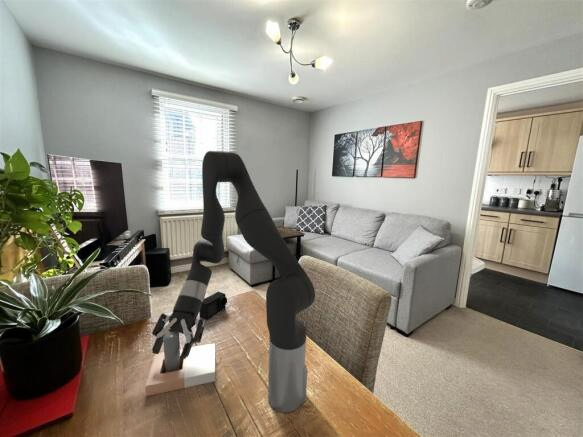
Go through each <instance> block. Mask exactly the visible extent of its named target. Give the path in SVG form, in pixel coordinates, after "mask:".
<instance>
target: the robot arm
mask: <svg viewBox="0 0 583 437" xmlns="http://www.w3.org/2000/svg"><path fill="white" fill-rule="evenodd" d="M201 166H202V168H201V172H202V173H201V175H202V176H201V177H202V182H201V183H202V200H203V201H202V202H203V207H202V208H203V214H202V222H201V229H200V236H201V238H203V239H201V240H198V241H197V242H196V243H195V244H194V246H193V249H192V250H193V251H192V260H191V266H190V269H189V272H188V274H187V277H186V278H185V279H186V280H185V282H184V284H182V287H181V290H180V292H179V294H178V297H177V299H176V301H175V304H174V306H173V309H172V313H171V314H170V315H167V314H165V313H161V314H160V316H159V318H158V320H157V322H156V324H155V325H154V327H153V330H152V331H151V334H152V335H153V336H154V337H156V338H155V341H154V343H153V346H152V348H151V351H152V354H154V355H155V354H159V353H161V349H162V346H163V345H164V342H163V337H164V335H165V334H167V333H169V332H172V331H176V332H178V333H179V334H181V335H184V337H185V340H186V342H184V345H183V348H182V349H183V351H182V353H181V356H180V358H181V359H186V357H188V356H189V353H190V350H191V348H192V347H193V345H195V344H200V343H201V341H202V337H203V334H204V330H205V326H206V320H205V319H203V318H200V319H197V317H198V316H199V311H200V308H201V305H202V303H203V300H204V299H205V298H206V297H205V296H206V293H207V290H208V289H207V288H208V286H209V283H210V281H211V277H212V273H213V272H212V269H210V267H208V266H206V265H204V264H202V263H201V261H202V262H207V263H210V264H216V265H217V264H220V263H221V262H222V261H223V259H224V258H225V245H224V238H223V236H224V235H223V233H224V229H225V223H226V222H225V221H226V220H225V219H226V217H225V216H226V215H225V212H224V209H223V207H222V204H221V203H220V201H219V198H218V196H217V186H218V183H231V184H232V185H233V187H234V189H235V191H236V194H237V202H236V206H235V214H234V219H235V224H236V226H237V227H238V229H239V231H240V234H241V235H242V238H243V239H244V241H245V242H246V244H248V245H249V246H250V247H251V248H252V249H253V250H254V251H256V252H258V253H259V254H260V255H261V256H263V257H264V258H265V259H267V260H268V261H269V262H270V263H271V264H272V266H274V268H275V270H276V271H277V274H279V277H280V278H277V279H275V280H273V281H271V282H270V283H269V285H268V286H267V289H266V294H265V295H266V296H265V306H266V310H265V311H266V326H267V329H268V333H269V334H268V335H269V338H268V339H269V341H268V342H269V344H268V345H269V346H268V347H269V348H268V378H267V379H268V381H267V382H268V384H267V386H268V387H267V399H268V403H269V404H270V406H271V407H272V408H273V409H274V410H276V411H277V412H280V413H292V412H294V411H297V409H299V408H300V406H301V405H302V404H304V403H305V402H307V387H308V386H307V385H308V368H307V365H306V363H305V362H306V347H307V346H306V345H307V328H306V326H305V323H303V322H302V321H300V320H299V319H296V316H297V315H298V314H299V313H301V312H303V311H304V310H306V309H308V308H309V307H311V306H312V305H313V304H314V303H315V299H316V291H315V287H314V284H313V282H312V280H311V279H310V277H309V275H308V274H307V272H306V271H305V270H304V268H303V267H302V265H301V263H300V262H299V261H298V260H297V258H296V257H295V255H294V254H293V252H292V251H291V250H290V247H289V246H288V244H287V243H286V241H285V240H284V237H283V236H282V234H281V232H280V231H279V229H278V228H277V226H276V224H275V221H274V220H273V218H272V216H271V214H270V212H269V211H268V209H267V207H266V206H265V204H264V202H263V201H262V199H261V197H260V195H259V193H258V191H257V190H256V187H255V185H254V183H253V181H252V179H251V176H250V174H249V171H248V169H247V167H246V164H245V162H244V161H243V159H242V157H241V156H240V155H239V153H237V152H234V151H227V150H226V151H224V150H214V149H213V150H208V151H206V152H205V154H204V156H203V159H202V165H201ZM166 323H168V324H166ZM194 326H195V327H196V328H195V329H196V330H195V333H194V331H193V329H192V328H193V327H194Z"/></svg>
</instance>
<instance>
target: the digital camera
mask: <svg viewBox="0 0 583 437" xmlns="http://www.w3.org/2000/svg"><path fill="white" fill-rule="evenodd" d="M227 304H228V297H226V293H224V292H222V291H216V292H215V293H212V294H211V295H209V296H207V297H204V300H203V303H202V305H201V308H200V311H199V314H198V316H199V318H200V319H202V320H205V319H206V320H205V321H208V320H210V319H212V318H213V317H214V315H215V316H216V315H218V314H219V312H220V311H221V312H223V311H224V310H225V308H227V307H226V305H227ZM223 309H224V310H223ZM222 310H223V311H222ZM221 312H220V313H221ZM217 313H218V314H217Z"/></svg>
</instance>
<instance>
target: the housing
mask: <svg viewBox="0 0 583 437" xmlns="http://www.w3.org/2000/svg"><path fill="white" fill-rule="evenodd" d="M182 351H183V348H180V356H181V353H182ZM215 352H216V349H215V343H210V344H204V345H203V344H202V345H196V346H192V348H191V350H190V353H189V356H188V357H186V359H181V358H180V362H181V366H182V368H181V370H178V371H173V372H168V373H165V372H164V371H165V359H164V351H162V352H161V351H160V352H159V354H154V357H153V360H152V363H151V366H150V369H149V372H148V376H147V380H146V383H145V396H146V397H149V396H153V395H159V394H162V393H167V392H172V391H177V390H181V389H185V388H190V387H195V386H199V385H204V384H208V383H213V382H216V354H215Z"/></svg>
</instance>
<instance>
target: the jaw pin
mask: <svg viewBox="0 0 583 437" xmlns="http://www.w3.org/2000/svg"><path fill="white" fill-rule="evenodd" d="M180 349H181V345H180V333H178V332H176V331H172V332H169V333H167V334H165V335H164V337H163V352H164V359H165V368H164V371H165V372H164V373H168V372H173V371H178V370H182V368H181V367H182V365H181V362H180Z"/></svg>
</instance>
